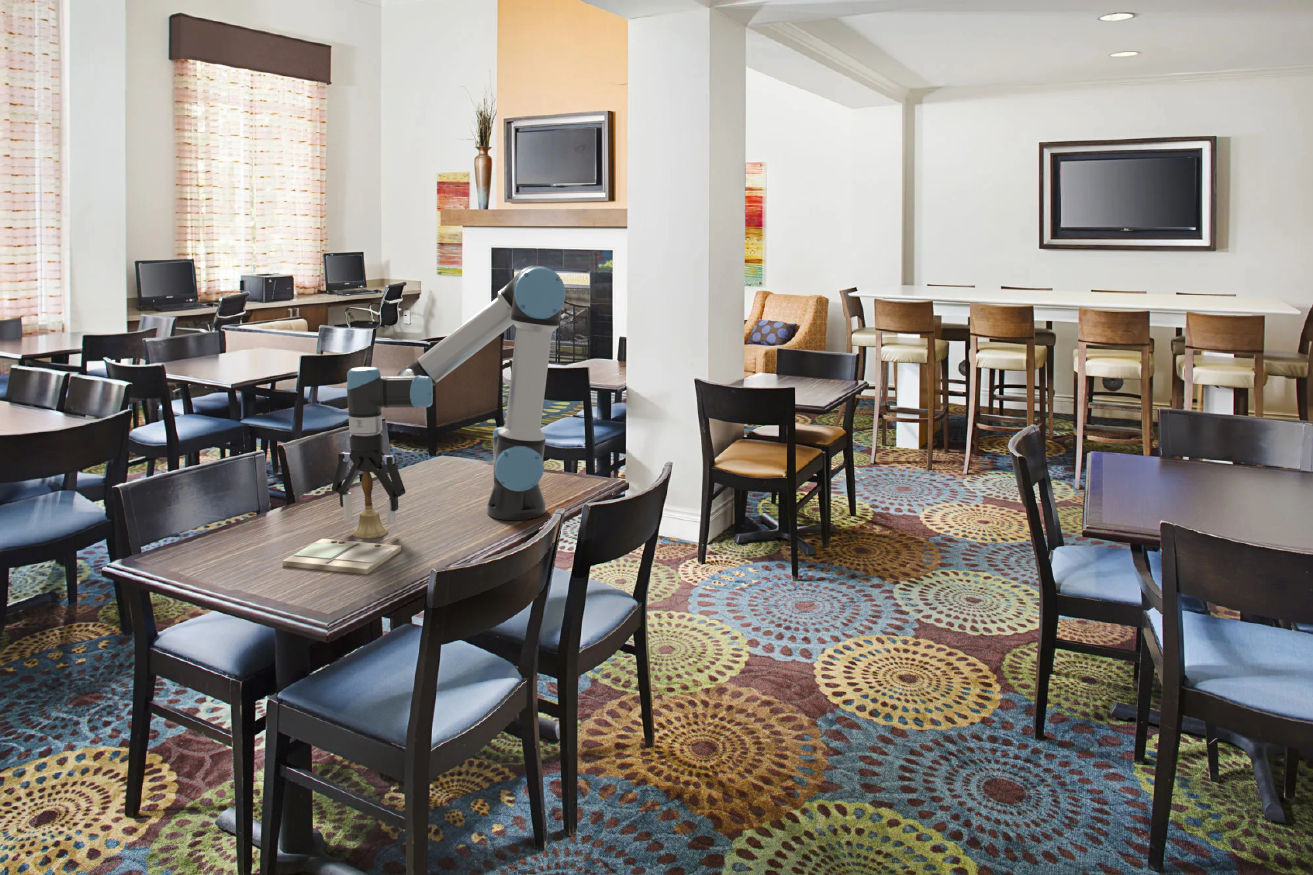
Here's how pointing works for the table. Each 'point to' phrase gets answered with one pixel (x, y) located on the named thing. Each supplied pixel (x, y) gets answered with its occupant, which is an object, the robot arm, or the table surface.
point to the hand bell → (369, 514)
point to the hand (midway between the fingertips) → (369, 521)
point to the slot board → (342, 556)
